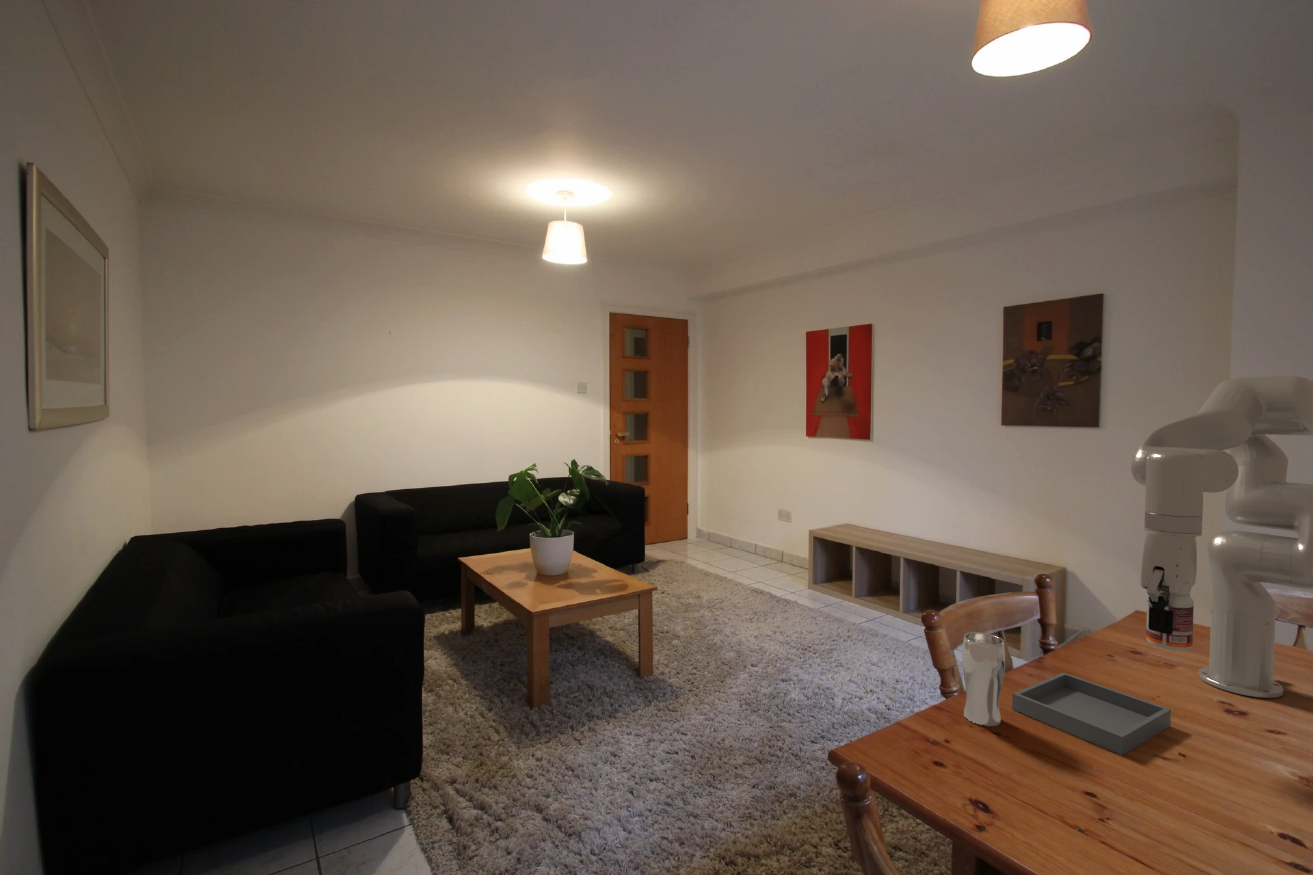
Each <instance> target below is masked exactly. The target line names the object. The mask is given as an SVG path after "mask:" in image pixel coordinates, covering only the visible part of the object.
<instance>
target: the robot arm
mask: <svg viewBox="0 0 1313 875" xmlns="http://www.w3.org/2000/svg"><path fill="white" fill-rule="evenodd" d="M1267 435H1277V436H1278V435H1279V436H1281V435H1282V436H1310V437H1311V436H1313V380H1311V379H1309V378H1305V377H1304V376H1300V375H1299V376H1297V375H1274V376H1273V375H1272V376H1271V375H1270V376H1245V377H1243V376H1242V377H1234V378H1230V379H1227V380H1224V381H1222V382H1220V383H1219V384H1218V385H1216V387H1215V388H1214V389H1213V390H1212V392H1211V393H1210V394H1209V396H1208V398H1206V399H1205V401H1204V403H1203V404H1202V405H1201V407H1200V408H1199V410H1198V411H1197V412H1196V414H1192V415H1189V416H1186V417H1184V418H1181V419H1178V420H1176V421H1173V422H1169V423H1168V424H1166V425H1165V424H1164V425H1163V426H1160V427H1158V428H1157V429H1155V430H1153V431H1152V432H1150V433H1149V434H1148V435H1147V436H1146V437H1145V439H1144V440H1143V441H1142V442H1141V443H1140V445H1139V446H1138V448H1137V450H1136V451H1135V453H1134V455H1133V458H1132V460H1131V463H1130V464H1131V465H1130V468H1131V475H1132V477H1133V480H1135V481H1136V482H1137V483H1138V484H1140V485H1142V486H1144V487H1145V495H1144V496H1145V499H1144V500H1145V501H1144V502H1145V503H1144V529H1143V530H1144V531H1146V535H1145V539H1144V544H1143V550H1142V560H1141V570H1140V571H1141V572H1140V581H1139V582H1140V587H1141V588H1142V589H1145V590H1146V595H1147V596H1148V599H1149V604H1148V605H1149V623H1148V628H1149V629H1150V630H1153V631H1157V632H1160V633H1164V634H1168V635H1170V634H1172V633H1173V614H1174V611H1171V606H1172V601H1173V596H1174V594H1176V593H1179V592H1181V591H1182V588H1183V585H1184V584H1186V583H1188V582H1190V593H1189V594H1186V595H1187V596H1189V597H1190V598H1191V599H1192V597H1191V591H1192V590H1191V589H1192V587H1194V586H1195V584H1196V579H1197V566H1198V563H1197V560H1198V557H1197V556H1198V555H1197V554H1198V553H1197V537H1201V536H1202V534H1203V513H1204V512H1203V511H1204V510H1203V509H1204V493H1220V492H1224V491H1225V490H1226V493H1225V497H1224V498H1225V500H1224V513H1225V515H1226V517H1227V518H1228V519H1229V520H1230V521H1232V522H1233V523H1236V524H1238V525H1239V524H1240V525H1245V526H1251V527H1258V528H1264V529H1273V530H1282V531H1290V532H1295V533H1297V534H1298V536H1299V537H1290V536H1284V535H1274V534H1270V533H1261V532H1254V531H1245V530H1224V531H1219V532H1216V533H1215V534H1213V535H1212V536H1211V537H1210V538H1209V541H1208V544H1207V557H1208V563H1209V568H1210V569H1209V570H1210V575H1211V608H1210V610H1211V611H1210V612H1211V614H1210V631H1209V632H1210V634H1209V655H1208V659H1209V660H1208V665H1207V666H1203V667H1201V668H1199V670H1198V677H1199V678H1200V679H1201V680H1202V681H1204V682H1205V683H1207V684H1209V685H1211V686H1213V687H1215V688H1218V689H1220V690H1224V691H1227V692H1230V693H1234V694H1237V695H1242V696H1246V697H1247V696H1248V697H1253V698H1261V699H1262V698H1263V699H1275V698H1279V697H1282V696H1283V695H1284V688H1283V686H1282V685H1281V684H1280V683H1278V682H1277V681H1275V680H1274V657H1275V638H1276V637H1275V636H1276V633H1275V632H1276V617H1277V616H1276V615H1277V614H1276V613H1277V607H1276V603H1275V601H1274V600H1275V599H1274V598H1273V597H1272V595H1271V594H1270V592H1269V591H1268V589H1267V588H1266V587H1265V586H1264V584H1263V583H1265V584H1271V585H1278V586H1284V587H1289V588H1296V589H1302V590H1311V591H1312V590H1313V484H1312V483H1303V482H1302V483H1301V482H1287V475H1288V474H1287V473H1288V468H1289V459H1288V456H1287V454H1286V453H1285V452H1284V451H1283V449H1282V448H1281V447H1280V446H1279V445H1278V444H1277V443H1276V442H1275V441H1273V440H1272V439H1271V438H1270V437H1268V436H1267ZM1226 450H1229V453H1228V452H1226ZM1161 587H1163V588H1168V589H1169V590H1168V591H1164V590H1160V588H1161ZM1160 594H1162V595H1166V596H1167V597H1166V601H1165V599H1164V597H1163V596H1160Z"/></svg>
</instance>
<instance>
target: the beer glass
mask: <svg viewBox="0 0 1313 875" xmlns="http://www.w3.org/2000/svg"><path fill="white" fill-rule="evenodd" d="M1005 651H1006V650H1005V640H1004V639H1002V637H999V636H997V635H995V634H992V633H987V632H980V631H971V632H965V633H964V634H963V643H962V654H961V655H962V656H961V662H962V663H961V665H962V673H963V674H962V675H963V681H964V685H965V693H966V698H965V700H966V701H965V705H964V709H963V717H964V718H965V717H966V718H967V719H968V720H967V719H966V718H965V719H966V720H967V721H969V722H971V721H972V722H971V723H973V724H975V723H976V724H975V725H978V724H979V725H978V726H982V725H985V726H984V727H996V726H999V725H1000V724H1001V723H1002V722H1001V721H1002V719H1001V712H1000V695H1001V692H1002V687H1003V683H1004V682H1003V681H1004V678H1005V668H1006V652H1005Z"/></svg>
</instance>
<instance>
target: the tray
mask: <svg viewBox="0 0 1313 875" xmlns="http://www.w3.org/2000/svg"><path fill="white" fill-rule="evenodd" d="M1011 704H1012V707H1011V708H1012V709H1013V711H1015V710H1016V711H1015V712H1017V713H1019V712H1021V713H1020V714H1022V713H1023V714H1022V715H1024V714H1025V716H1027V717H1029V716H1030V717H1029V718H1031V717H1032V718H1031V719H1034V720H1036V721H1038V720H1039V722H1041V723H1044V724H1045V725H1049V726H1050V727H1054V728H1056V729H1058V730H1060V731H1062V732H1065V733H1067V734H1069V735H1072V736H1074V737H1076V738H1080V739H1081V740H1084V741H1085V742H1089V743H1091V744H1093V745H1095V746H1099V747H1101V748H1103V749H1105V750H1109V751H1110V752H1112V753H1115V754H1117V755H1120V756H1124V755H1126V754H1127V753H1129V752H1130V751H1131V750H1133V749H1135V748H1137V747H1138V746H1140V745H1141V744H1143V743H1145V742H1147V741H1149V740H1150V739H1152V738H1154V737H1155V736H1156V735H1158V734H1160V733H1161V732H1163V731H1165V730H1167V729H1168V728H1170V727H1171V723H1172V722H1171V718H1172V717H1171V715H1172V709H1171V708H1168V707H1166V706H1162V705H1160V704H1156V703H1153V702H1151V701H1148V700H1145V699H1142V698H1139V697H1135V696H1133V695H1130V694H1127V693H1125V692H1122V691H1118V690H1116V689H1113V688H1110V687H1107V686H1104V685H1101V684H1099V683H1096V682H1093V681H1089V680H1086V679H1083V678H1082V677H1081V678H1080V677H1078V676H1075V675H1072V674H1069V673H1066V672H1063V671H1062V672H1061V673H1058V674H1055V675H1053V676H1051V677H1048V678H1047V679H1044V680H1041V681H1039V682H1037V683H1034V684H1032V685H1030V686H1027V687H1025V688H1023V689H1020V690H1018V691H1017V690H1016V691H1015V692H1013V693H1012V703H1011Z"/></svg>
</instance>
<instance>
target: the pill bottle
mask: <svg viewBox="0 0 1313 875" xmlns="http://www.w3.org/2000/svg"><path fill="white" fill-rule="evenodd" d="M1160 590H1164V591H1168V590H1169V589H1168V588H1163V587H1161V588H1160ZM1190 590H1191V588H1190V582H1188V583H1186V584H1184V585H1183V588H1182V591H1181V592H1179V593H1176V594H1174V596H1173V601H1172V606H1171V611H1174V614H1173V633H1172V634H1170V635H1168V634H1164V633H1160V632H1157V631H1153V630H1150V629H1149V628H1148V623H1149V605H1148V604H1149V599H1148V595H1147V597H1146V600H1147V601H1146V603H1147V604H1146V629H1145V630H1146V631H1145V636H1146V637H1145V639H1146V641H1147V642H1148V643H1149V644H1151V646H1155V647H1157V648H1159V649H1164V650H1169V651H1175V652H1184V651H1185V652H1186V651H1190V650H1191V649H1192V648H1193V641H1194V634H1193V633H1194V611H1195V610H1194V607H1195V605H1194V599H1192V597H1191V596H1190V597H1191V598H1190V597H1189V596H1187V595H1186V594H1189V593H1190V594H1191V591H1190ZM1160 596H1163V597H1164V599H1165V601H1166V597H1167V596H1166V595H1162V594H1160Z"/></svg>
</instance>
